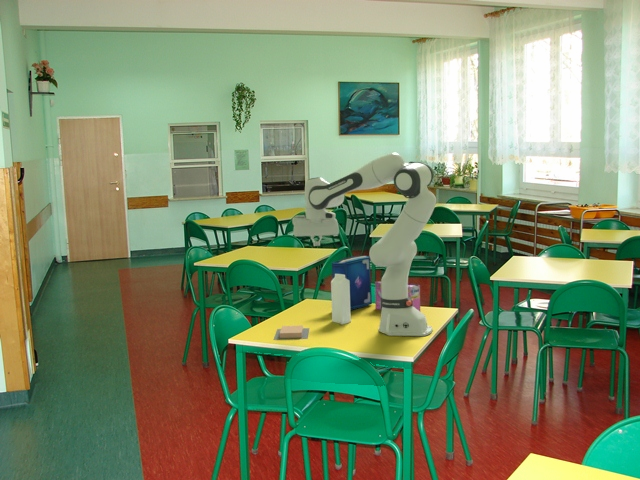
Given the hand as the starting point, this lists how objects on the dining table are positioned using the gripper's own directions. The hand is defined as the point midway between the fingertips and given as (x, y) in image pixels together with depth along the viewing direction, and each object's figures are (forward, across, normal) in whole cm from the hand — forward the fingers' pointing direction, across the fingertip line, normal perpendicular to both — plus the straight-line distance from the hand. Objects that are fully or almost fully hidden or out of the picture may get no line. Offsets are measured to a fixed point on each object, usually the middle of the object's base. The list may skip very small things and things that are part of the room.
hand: (316, 245), depth 287 cm
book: (+35, +15, +29) cm, 48 cm away
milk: (+35, +10, +1) cm, 37 cm away
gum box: (+35, +37, +20) cm, 55 cm away
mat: (+35, -11, -19) cm, 41 cm away
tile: (+33, -11, -14) cm, 38 cm away
